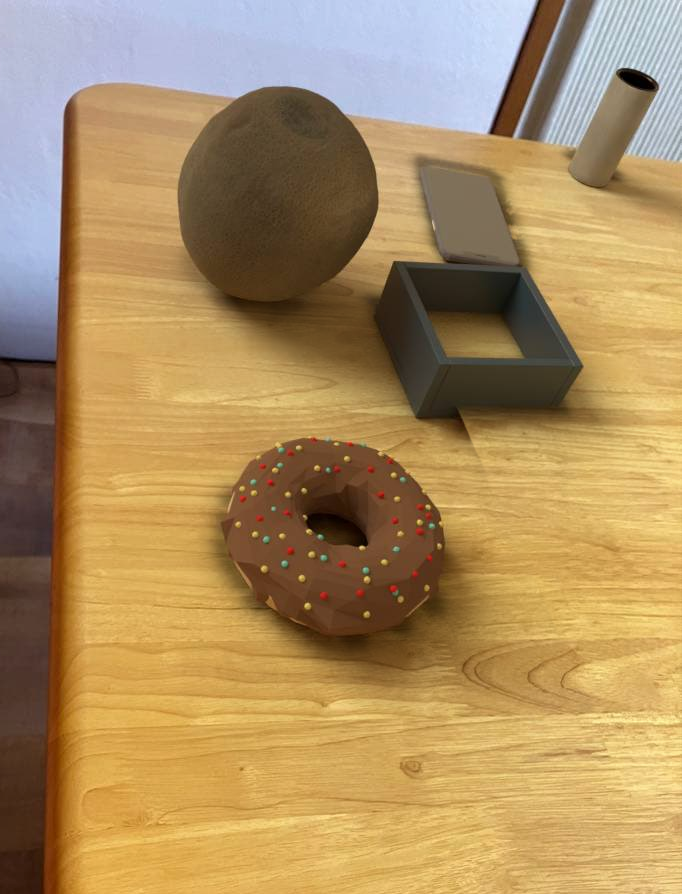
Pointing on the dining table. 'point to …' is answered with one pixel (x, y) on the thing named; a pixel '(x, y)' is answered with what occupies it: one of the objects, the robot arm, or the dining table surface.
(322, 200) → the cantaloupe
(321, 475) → the donut
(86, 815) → the dining table surface
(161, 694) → the dining table surface
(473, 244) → the smartphone
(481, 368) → the bin
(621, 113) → the beige hollow cylinder
